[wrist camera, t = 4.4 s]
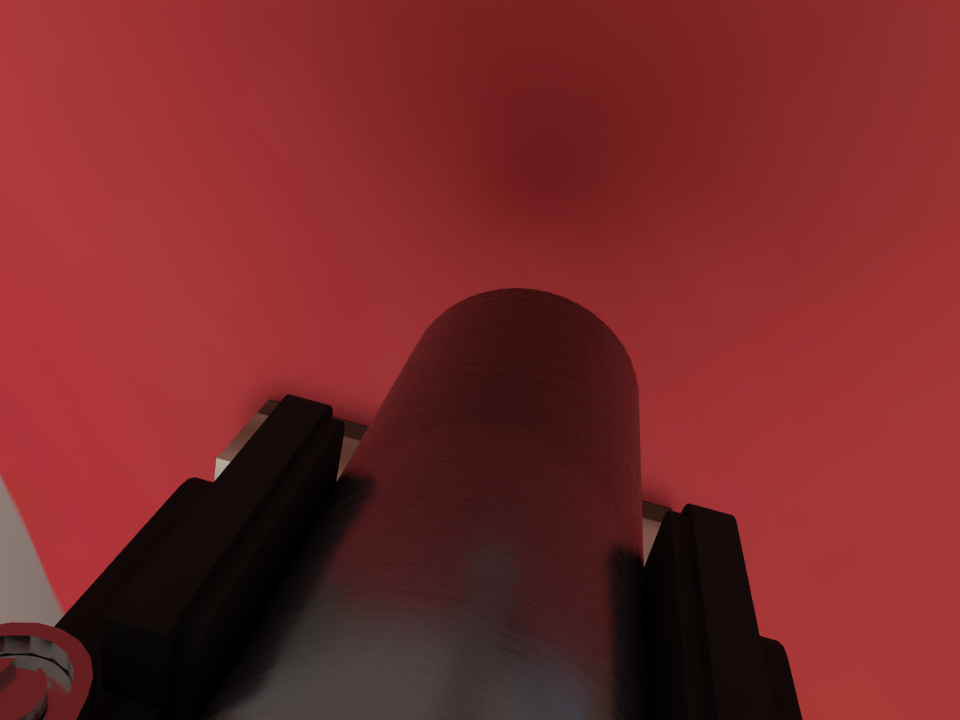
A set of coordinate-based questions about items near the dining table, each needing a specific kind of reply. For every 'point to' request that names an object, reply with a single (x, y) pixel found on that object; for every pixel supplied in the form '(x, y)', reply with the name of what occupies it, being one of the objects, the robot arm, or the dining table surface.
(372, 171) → the dining table surface
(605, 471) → the steel peg
